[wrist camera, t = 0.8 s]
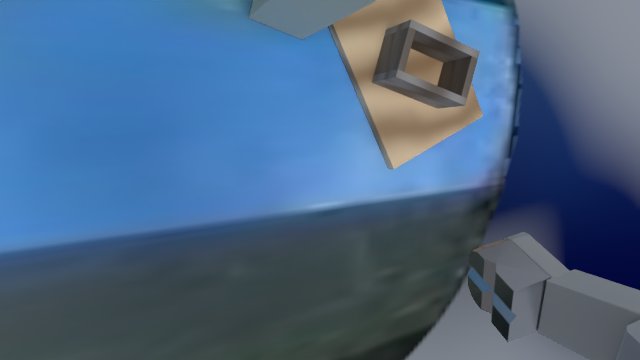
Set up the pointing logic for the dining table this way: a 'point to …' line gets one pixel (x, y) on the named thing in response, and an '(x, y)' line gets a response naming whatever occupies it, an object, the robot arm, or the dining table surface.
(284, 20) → the tall grey rectangular block
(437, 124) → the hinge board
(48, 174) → the dining table surface
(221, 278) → the dining table surface
